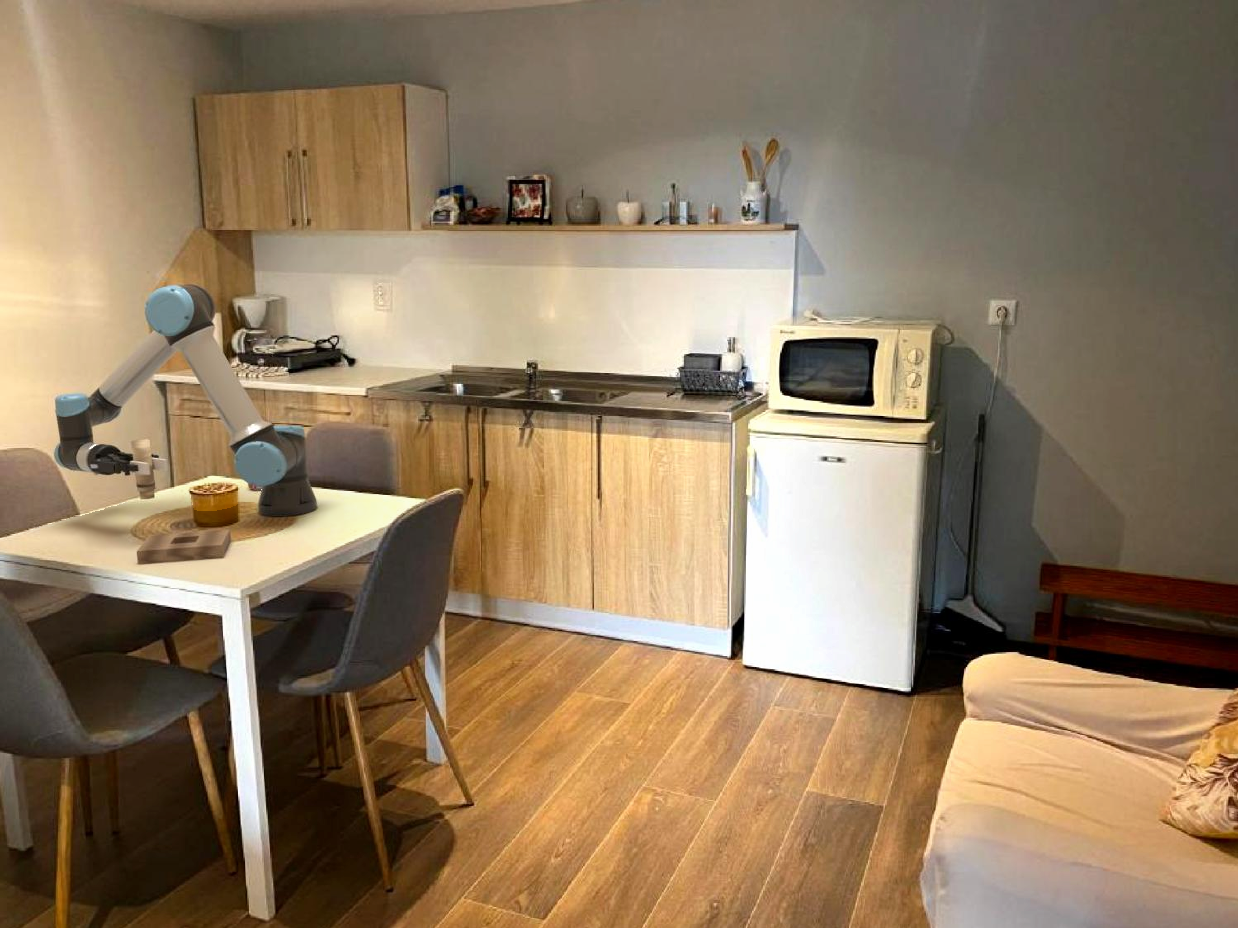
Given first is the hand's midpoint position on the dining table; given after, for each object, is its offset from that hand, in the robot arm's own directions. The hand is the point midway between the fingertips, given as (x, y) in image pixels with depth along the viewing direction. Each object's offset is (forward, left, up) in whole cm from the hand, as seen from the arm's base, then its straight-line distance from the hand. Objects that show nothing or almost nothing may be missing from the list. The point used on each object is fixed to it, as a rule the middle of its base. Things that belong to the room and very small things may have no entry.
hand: (156, 467), depth 245 cm
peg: (+4, -4, -8) cm, 10 cm away
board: (-6, +10, -19) cm, 22 cm away
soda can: (-16, -56, -19) cm, 61 cm away
